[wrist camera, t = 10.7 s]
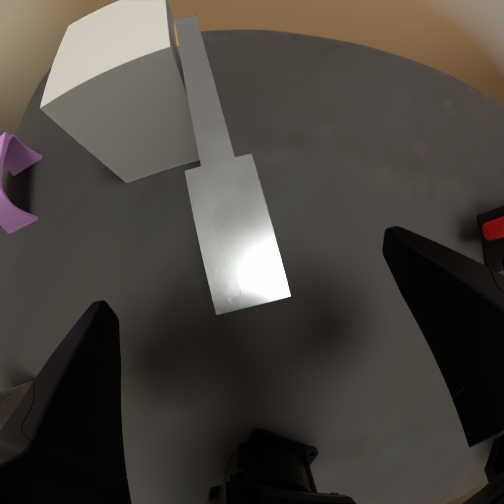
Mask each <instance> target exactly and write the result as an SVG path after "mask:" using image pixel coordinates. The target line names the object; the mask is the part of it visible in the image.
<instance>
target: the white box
mask: <svg viewBox="0 0 504 504" xmlns="http://www.w3.org/2000/svg"><path fill="white" fill-rule="evenodd" d="M40 109H41V110H42V111H43V112H45V113H46V114H47V115H48V116H49V117H50V118H51V119H52V120H54V121H55V122H56V123H57V124H58V125H59V126H60V127H61V128H63V129H64V130H65V131H66V132H67V133H68V134H69V135H71V136H72V137H73V138H74V139H75V140H76V141H77V142H79V143H80V144H81V145H82V146H83V147H84V148H86V149H87V150H88V151H89V152H90V153H91V154H93V155H94V156H95V157H96V158H97V159H98V160H100V161H101V162H102V163H103V164H104V165H106V166H107V167H108V168H109V169H110V170H111V171H113V172H114V173H115V174H116V175H117V176H119V177H120V178H121V179H122V180H123V181H125V182H126V183H130V182H132V181H135V180H138V179H141V178H144V177H147V176H150V175H153V174H156V173H159V172H162V171H165V170H168V169H171V168H175V167H178V166H181V165H185V164H188V163H191V162H195V161H198V160H200V158H199V153H198V149H197V144H196V139H195V134H194V128H193V123H192V118H191V113H190V108H189V102H188V97H187V91H186V86H185V80H184V74H183V68H182V63H181V57H180V50H179V44H178V38H177V31H176V25H175V20H174V16H173V13H172V10H171V6H170V3H169V0H119V1H117V2H115V3H112V4H110V5H108V6H105V7H103V8H101V9H99V10H97V11H95V12H93V13H91V14H89V15H87V16H85V17H83V18H81V19H80V20H78V21H76V22H74V23H72V24H71V25H69V27H68V29H67V31H66V33H65V35H64V38H63V40H62V42H61V45H60V47H59V50H58V52H57V55H56V58H55V60H54V63H53V66H52V69H51V72H50V75H49V78H48V81H47V84H46V88H45V91H44V95H43V98H42V102H41V106H40Z"/></svg>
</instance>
